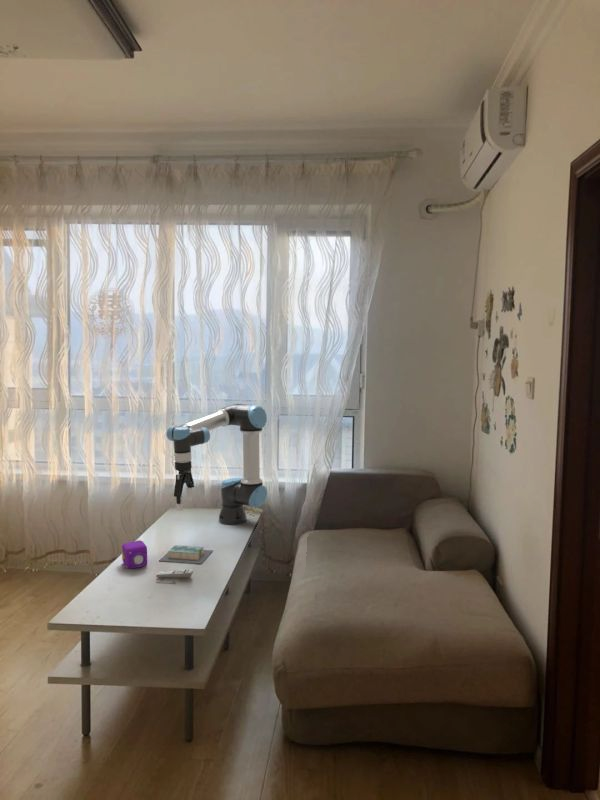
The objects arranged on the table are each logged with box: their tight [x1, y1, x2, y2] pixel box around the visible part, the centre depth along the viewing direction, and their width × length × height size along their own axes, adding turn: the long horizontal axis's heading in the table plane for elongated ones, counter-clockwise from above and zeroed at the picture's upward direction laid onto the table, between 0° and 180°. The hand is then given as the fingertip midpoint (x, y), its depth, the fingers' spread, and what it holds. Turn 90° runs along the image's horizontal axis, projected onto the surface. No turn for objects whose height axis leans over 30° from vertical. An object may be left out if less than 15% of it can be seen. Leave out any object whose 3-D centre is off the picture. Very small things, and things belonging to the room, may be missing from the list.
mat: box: [158, 549, 214, 565], centre depth 267 cm, size 16×20×1 cm
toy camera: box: [121, 539, 148, 569], centre depth 256 cm, size 11×14×10 cm
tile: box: [167, 544, 204, 560], centre depth 267 cm, size 8×3×14 cm
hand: (184, 505), depth 270 cm, fingers open, 13 cm apart
